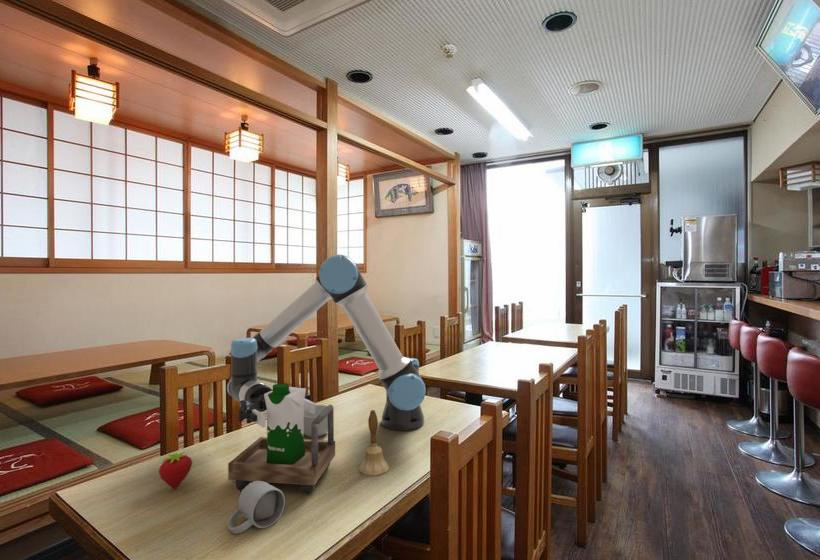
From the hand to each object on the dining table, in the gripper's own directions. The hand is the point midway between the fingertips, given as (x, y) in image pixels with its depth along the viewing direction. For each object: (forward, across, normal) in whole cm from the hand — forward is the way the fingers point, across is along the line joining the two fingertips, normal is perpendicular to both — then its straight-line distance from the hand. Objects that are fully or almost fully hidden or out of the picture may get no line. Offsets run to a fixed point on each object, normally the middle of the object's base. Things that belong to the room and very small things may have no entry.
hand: (290, 414), depth 103 cm
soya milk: (-3, 0, -13) cm, 13 cm away
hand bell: (+8, -20, -18) cm, 28 cm away
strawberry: (-17, +22, -18) cm, 33 cm away
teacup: (-25, -20, -18) cm, 36 cm away
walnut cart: (-3, 0, -18) cm, 18 cm away
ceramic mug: (+10, +13, -18) cm, 24 cm away
